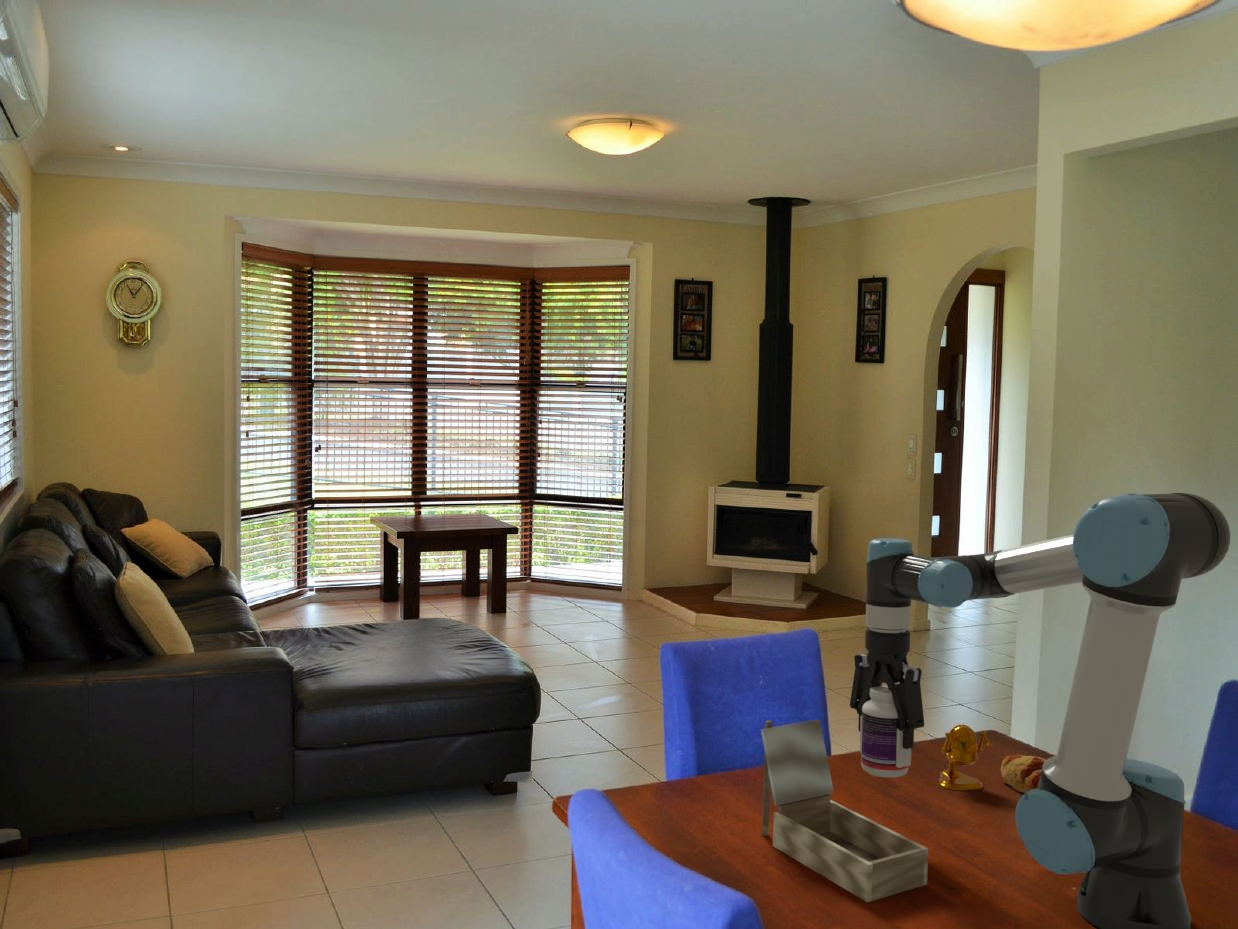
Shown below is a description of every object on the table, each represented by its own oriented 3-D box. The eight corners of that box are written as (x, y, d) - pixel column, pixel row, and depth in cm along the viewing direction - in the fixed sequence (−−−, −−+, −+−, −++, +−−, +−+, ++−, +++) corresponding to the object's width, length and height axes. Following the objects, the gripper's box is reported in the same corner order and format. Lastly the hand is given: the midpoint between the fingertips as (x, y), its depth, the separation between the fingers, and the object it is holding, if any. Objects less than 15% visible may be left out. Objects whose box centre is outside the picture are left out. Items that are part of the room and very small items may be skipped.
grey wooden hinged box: (926, 884, 169) (932, 759, 167) (867, 902, 162) (872, 772, 161) (811, 822, 192) (815, 712, 191) (754, 835, 186) (758, 722, 184)
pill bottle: (910, 781, 182) (912, 697, 181) (861, 777, 183) (863, 694, 182) (907, 766, 189) (909, 685, 189) (860, 762, 191) (862, 682, 190)
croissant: (992, 785, 223) (976, 752, 222) (1034, 762, 224) (1018, 729, 223) (1043, 824, 202) (1026, 787, 201) (1089, 798, 203) (1072, 762, 202)
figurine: (950, 794, 207) (953, 733, 207) (926, 774, 218) (929, 716, 217) (992, 793, 209) (995, 732, 208) (966, 773, 219) (969, 716, 218)
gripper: (950, 637, 178) (946, 773, 179) (861, 616, 196) (858, 739, 197) (917, 642, 174) (914, 780, 175) (830, 620, 192) (827, 745, 193)
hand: (884, 758), depth 186 cm, fingers closed on pill bottle, 8 cm apart
